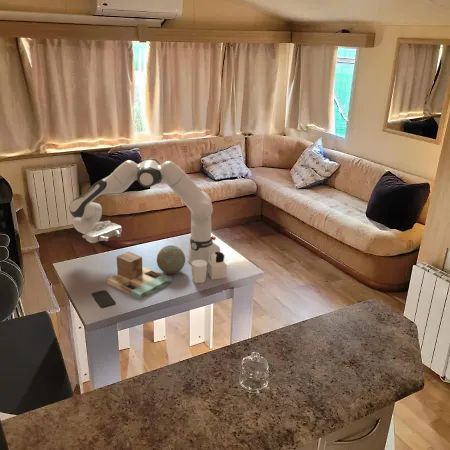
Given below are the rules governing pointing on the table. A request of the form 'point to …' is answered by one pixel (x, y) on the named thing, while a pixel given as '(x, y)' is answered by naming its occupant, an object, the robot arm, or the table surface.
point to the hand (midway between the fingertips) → (114, 237)
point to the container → (217, 266)
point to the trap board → (140, 283)
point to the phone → (103, 298)
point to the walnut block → (129, 265)
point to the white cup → (199, 271)
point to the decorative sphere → (170, 259)
